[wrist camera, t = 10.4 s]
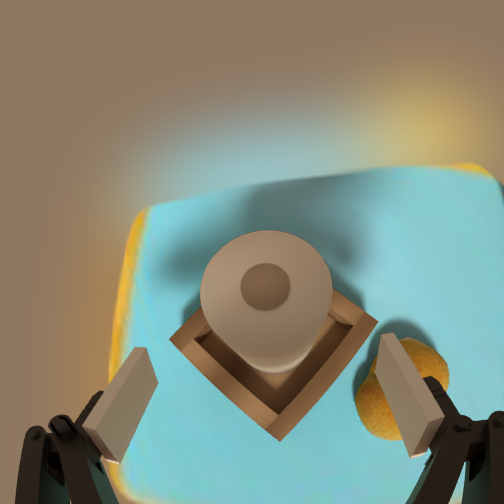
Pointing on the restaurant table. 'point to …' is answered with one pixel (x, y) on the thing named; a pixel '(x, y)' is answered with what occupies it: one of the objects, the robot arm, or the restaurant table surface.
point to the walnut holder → (283, 385)
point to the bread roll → (372, 396)
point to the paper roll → (267, 298)
